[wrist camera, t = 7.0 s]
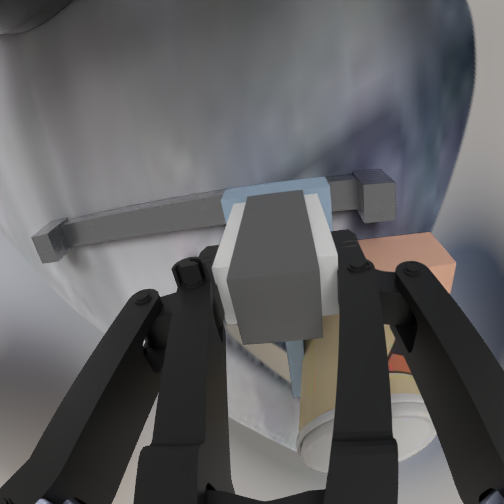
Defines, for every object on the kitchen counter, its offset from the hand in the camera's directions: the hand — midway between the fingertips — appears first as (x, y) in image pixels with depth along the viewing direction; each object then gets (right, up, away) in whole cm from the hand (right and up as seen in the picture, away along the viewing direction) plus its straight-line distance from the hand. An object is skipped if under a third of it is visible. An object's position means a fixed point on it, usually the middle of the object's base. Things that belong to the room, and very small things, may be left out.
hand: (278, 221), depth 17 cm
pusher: (+1, -4, +7) cm, 8 cm away
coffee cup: (+7, -8, +9) cm, 13 cm away
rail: (-6, +1, +4) cm, 7 cm away
